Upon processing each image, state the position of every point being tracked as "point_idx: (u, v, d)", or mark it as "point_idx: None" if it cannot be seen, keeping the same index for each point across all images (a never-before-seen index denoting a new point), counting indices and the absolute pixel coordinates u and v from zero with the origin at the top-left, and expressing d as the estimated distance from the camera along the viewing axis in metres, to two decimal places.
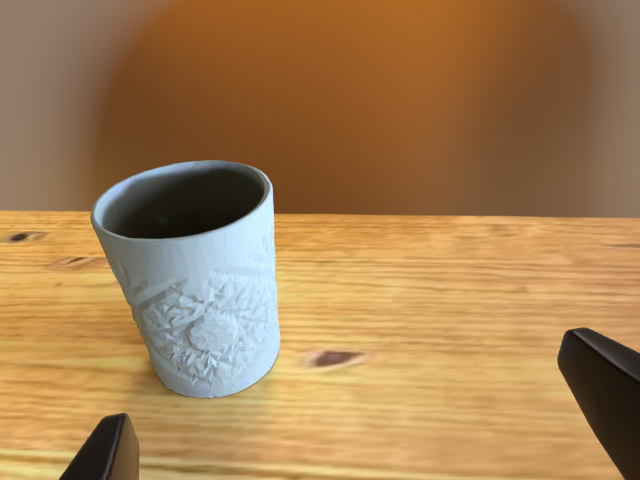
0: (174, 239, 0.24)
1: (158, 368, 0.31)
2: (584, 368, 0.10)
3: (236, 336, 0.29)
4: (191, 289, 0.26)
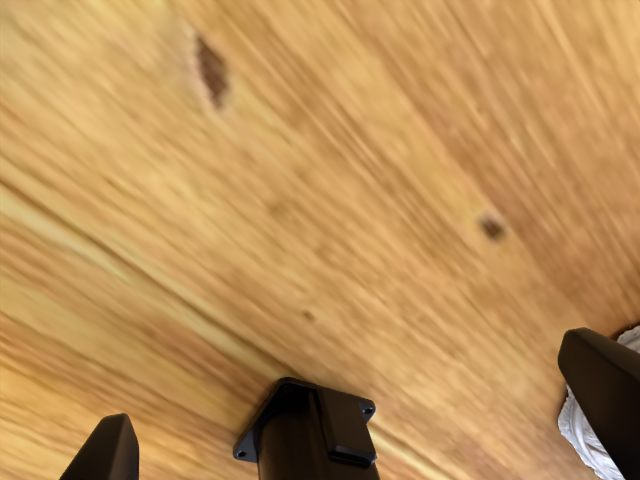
0: None
1: None
2: (584, 368, 0.10)
3: None
4: None
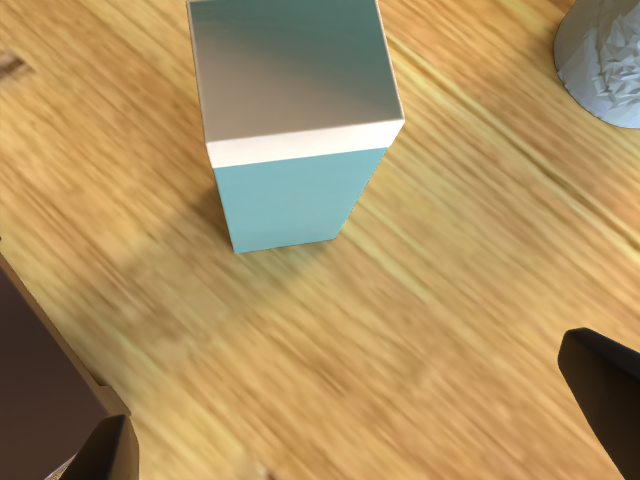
0: None
1: (574, 55, 0.27)
2: (584, 368, 0.10)
3: None
4: None
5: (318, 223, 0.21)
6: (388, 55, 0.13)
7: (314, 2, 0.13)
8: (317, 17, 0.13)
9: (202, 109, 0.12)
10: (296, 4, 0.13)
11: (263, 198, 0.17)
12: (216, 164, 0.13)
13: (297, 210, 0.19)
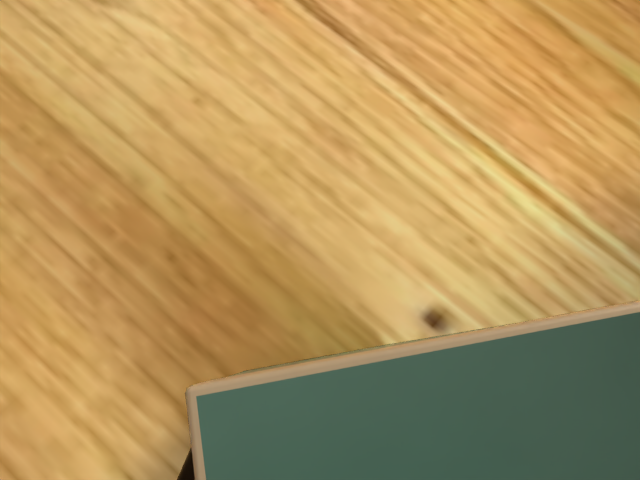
0: None
1: None
2: None
3: None
4: None
5: None
6: None
7: (562, 358, 0.05)
8: (578, 413, 0.04)
9: None
10: (514, 372, 0.04)
11: None
12: None
13: None
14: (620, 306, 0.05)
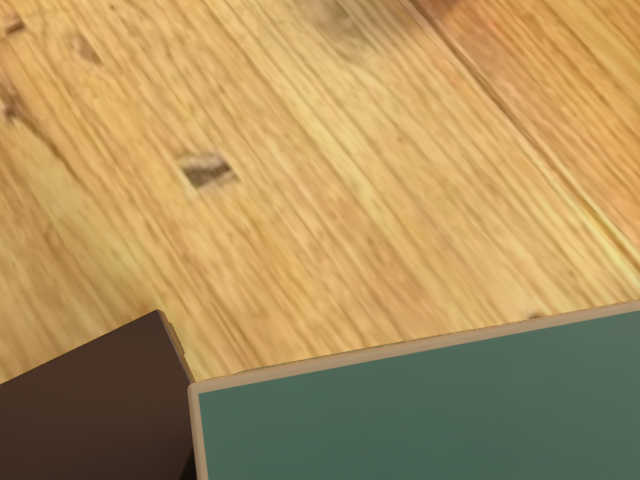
0: None
1: None
2: None
3: None
4: None
5: None
6: None
7: (563, 356, 0.05)
8: (578, 411, 0.04)
9: None
10: (515, 369, 0.04)
11: None
12: None
13: None
14: (621, 304, 0.05)
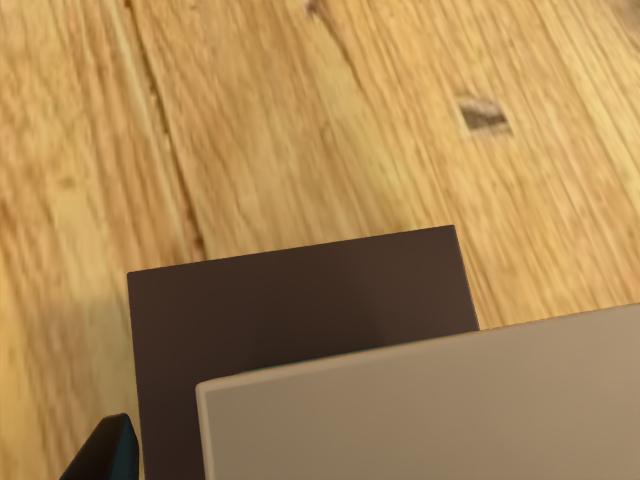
0: None
1: None
2: None
3: None
4: None
5: None
6: None
7: (528, 360, 0.05)
8: (541, 408, 0.05)
9: None
10: (484, 372, 0.05)
11: None
12: None
13: None
14: (581, 314, 0.05)
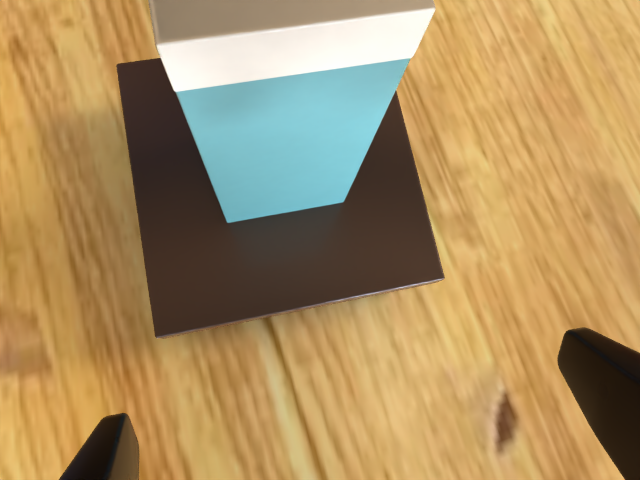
0: None
1: None
2: (584, 368, 0.10)
3: None
4: None
5: (322, 180, 0.18)
6: None
7: None
8: None
9: None
10: None
11: (252, 142, 0.13)
12: (179, 85, 0.10)
13: (296, 160, 0.15)
14: None
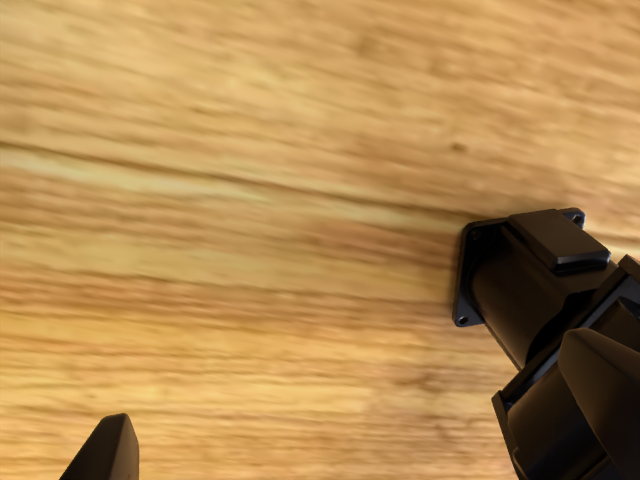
0: None
1: None
2: (584, 368, 0.10)
3: None
4: None
5: None
6: None
7: None
8: None
9: None
10: None
11: None
12: None
13: None
14: None
